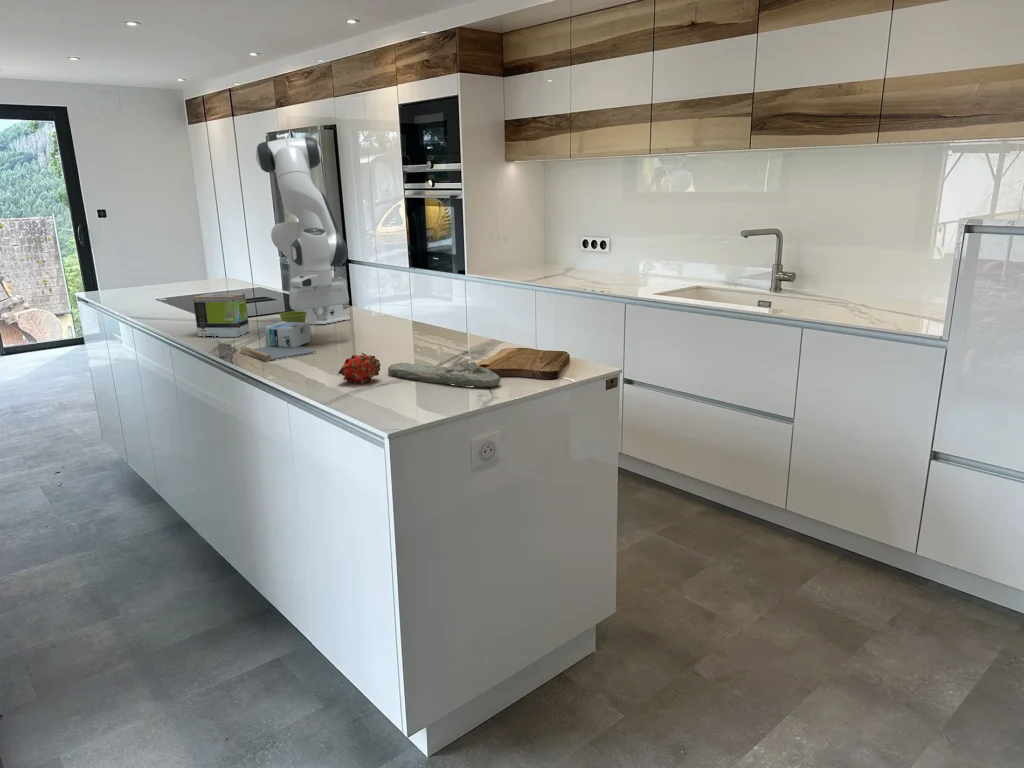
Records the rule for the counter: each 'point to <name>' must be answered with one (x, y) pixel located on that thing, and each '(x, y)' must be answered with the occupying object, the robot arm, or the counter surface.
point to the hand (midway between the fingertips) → (321, 320)
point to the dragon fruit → (360, 368)
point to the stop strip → (256, 353)
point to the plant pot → (293, 316)
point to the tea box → (221, 314)
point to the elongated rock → (447, 374)
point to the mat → (284, 351)
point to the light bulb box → (287, 334)
